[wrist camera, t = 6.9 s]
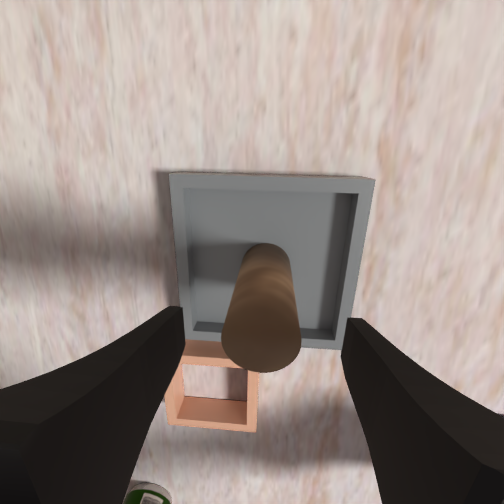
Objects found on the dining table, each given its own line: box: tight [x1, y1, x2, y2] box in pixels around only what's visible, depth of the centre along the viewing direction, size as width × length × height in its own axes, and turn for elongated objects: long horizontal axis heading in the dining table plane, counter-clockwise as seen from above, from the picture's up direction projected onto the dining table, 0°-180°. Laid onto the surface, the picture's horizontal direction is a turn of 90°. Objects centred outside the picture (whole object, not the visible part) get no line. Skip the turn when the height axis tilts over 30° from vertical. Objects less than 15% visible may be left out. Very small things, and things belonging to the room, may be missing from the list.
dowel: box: [221, 243, 302, 373], centre depth 15 cm, size 3×3×8 cm
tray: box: [169, 172, 375, 350], centre depth 18 cm, size 12×12×2 cm
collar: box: [164, 339, 259, 432], centre depth 22 cm, size 8×8×2 cm
